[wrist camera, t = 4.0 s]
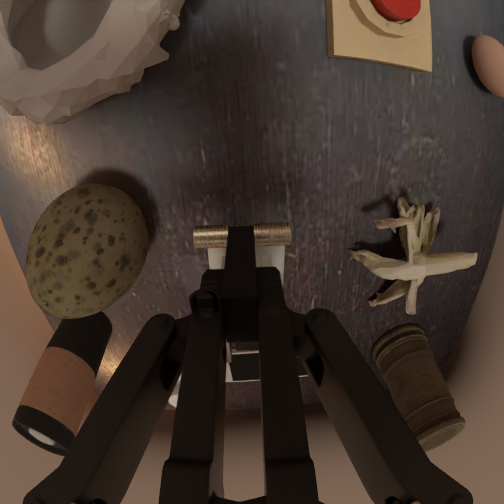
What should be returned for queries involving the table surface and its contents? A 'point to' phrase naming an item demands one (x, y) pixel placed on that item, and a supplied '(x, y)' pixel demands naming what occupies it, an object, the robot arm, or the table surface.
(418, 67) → the button box
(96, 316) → the travel mug
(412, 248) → the branching beige root
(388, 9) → the button
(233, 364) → the smartphone
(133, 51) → the bowl
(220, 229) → the lever
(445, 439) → the container
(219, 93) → the table surface
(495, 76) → the egg
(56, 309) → the decorative egg
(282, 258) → the switch bracket
